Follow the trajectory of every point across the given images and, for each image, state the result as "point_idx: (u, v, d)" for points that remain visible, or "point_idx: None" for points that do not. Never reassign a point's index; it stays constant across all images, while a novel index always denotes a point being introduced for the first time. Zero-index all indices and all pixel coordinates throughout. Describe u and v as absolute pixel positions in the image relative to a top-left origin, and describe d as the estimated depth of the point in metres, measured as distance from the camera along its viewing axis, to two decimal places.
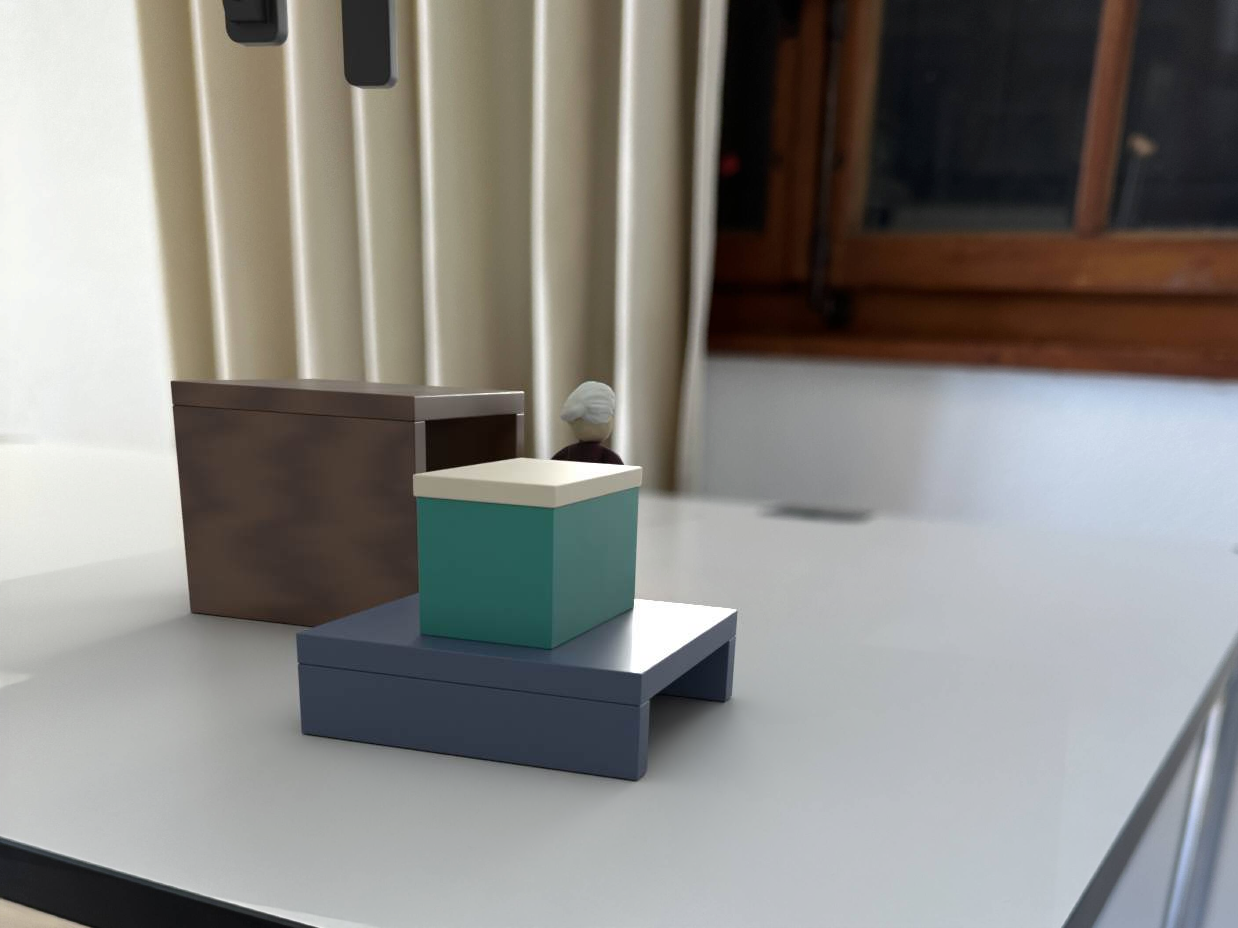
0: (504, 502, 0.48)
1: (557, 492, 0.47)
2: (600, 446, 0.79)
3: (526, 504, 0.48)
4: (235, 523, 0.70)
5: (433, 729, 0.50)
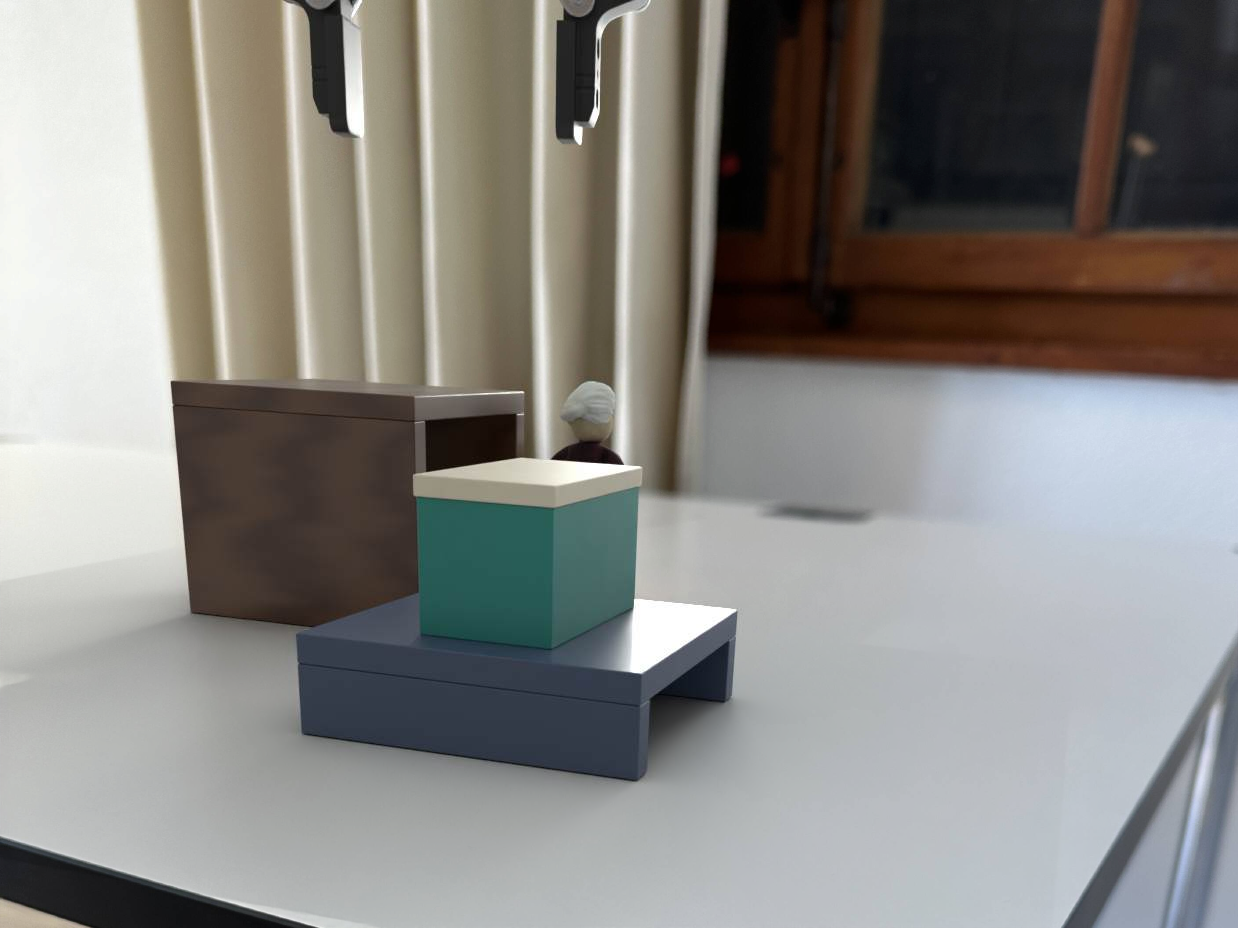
0: (504, 502, 0.48)
1: (557, 492, 0.47)
2: (600, 446, 0.79)
3: (526, 504, 0.48)
4: (235, 523, 0.70)
5: (433, 729, 0.50)
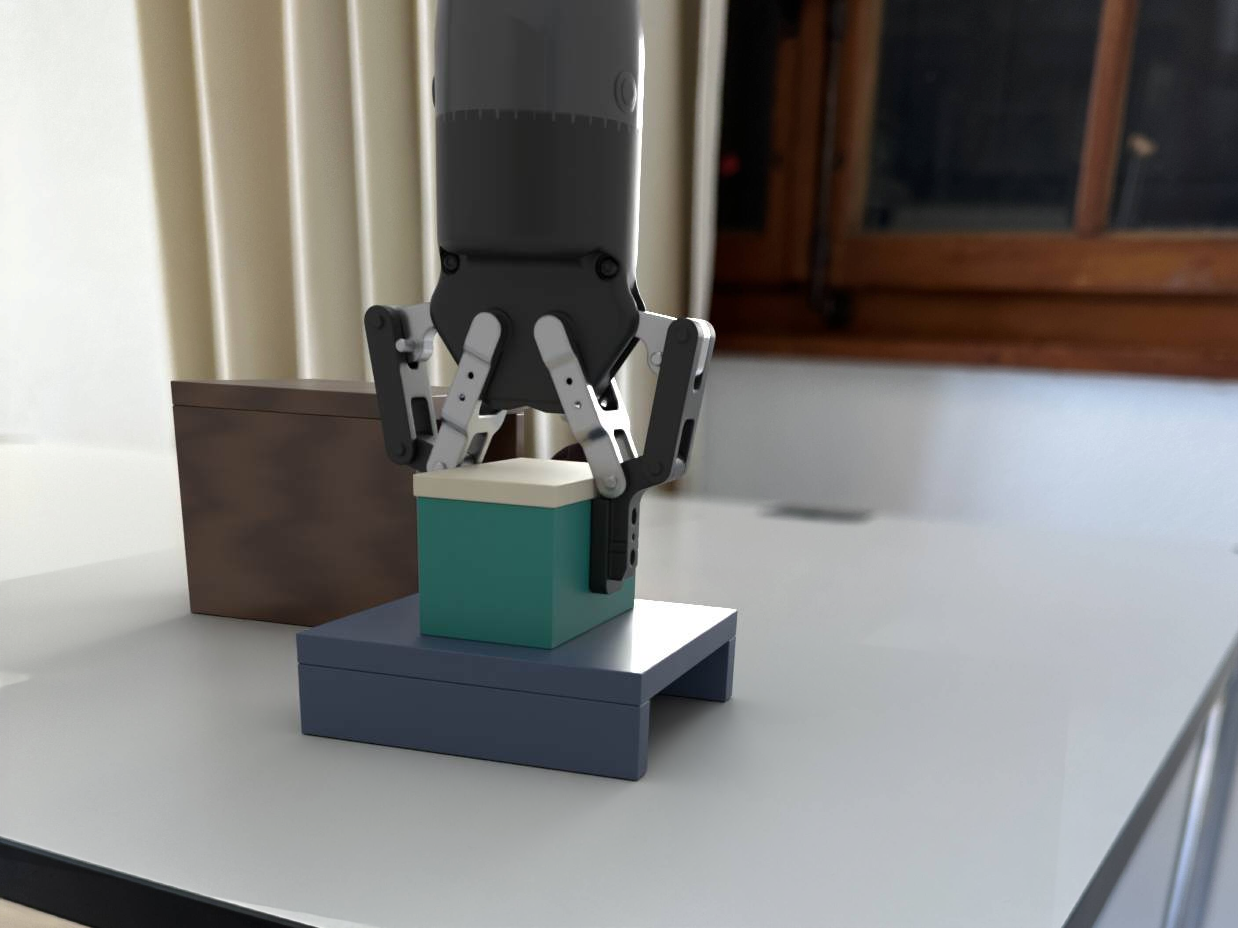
0: (504, 502, 0.48)
1: (558, 492, 0.47)
2: None
3: (526, 504, 0.48)
4: (235, 523, 0.70)
5: (433, 729, 0.50)
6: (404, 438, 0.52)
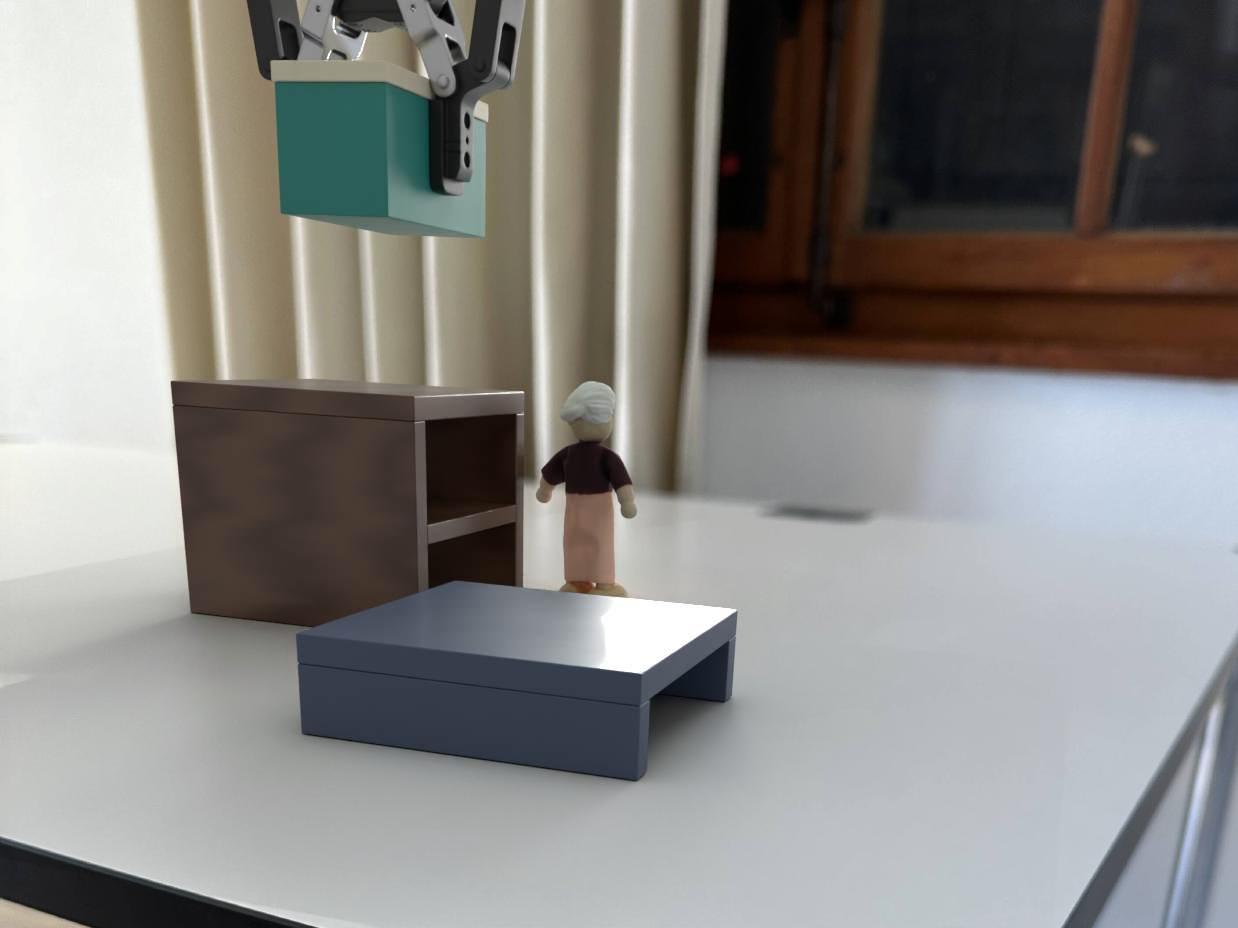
0: (345, 80, 0.56)
1: (389, 68, 0.56)
2: (600, 446, 0.79)
3: (363, 80, 0.56)
4: (235, 523, 0.70)
5: (433, 729, 0.50)
6: (273, 54, 0.61)
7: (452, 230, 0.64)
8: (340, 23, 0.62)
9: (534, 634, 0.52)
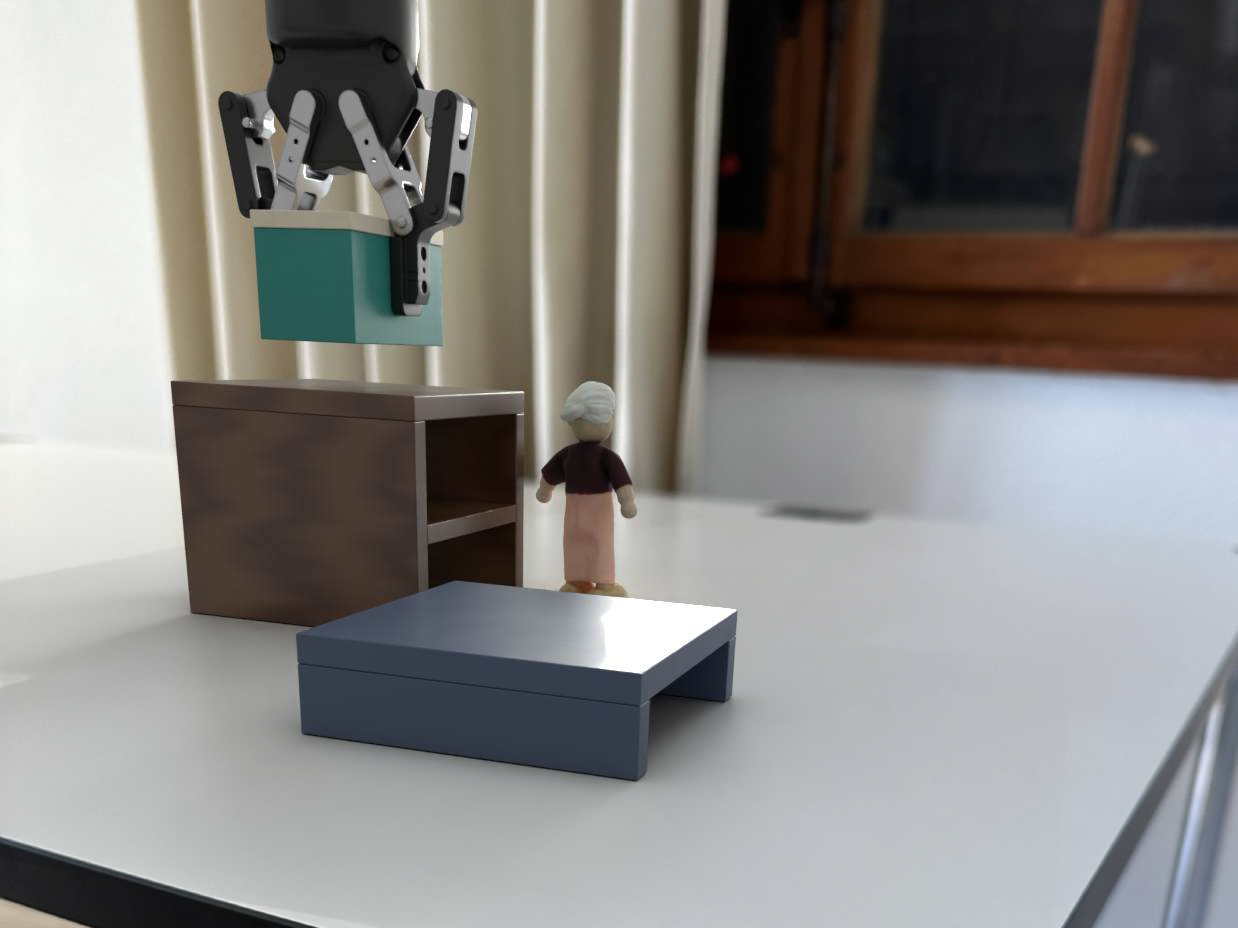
0: (315, 227, 0.65)
1: (353, 217, 0.64)
2: (600, 446, 0.79)
3: (331, 227, 0.65)
4: (235, 523, 0.70)
5: (433, 729, 0.50)
6: (251, 196, 0.69)
7: (413, 344, 0.72)
8: (310, 166, 0.70)
9: (534, 634, 0.52)
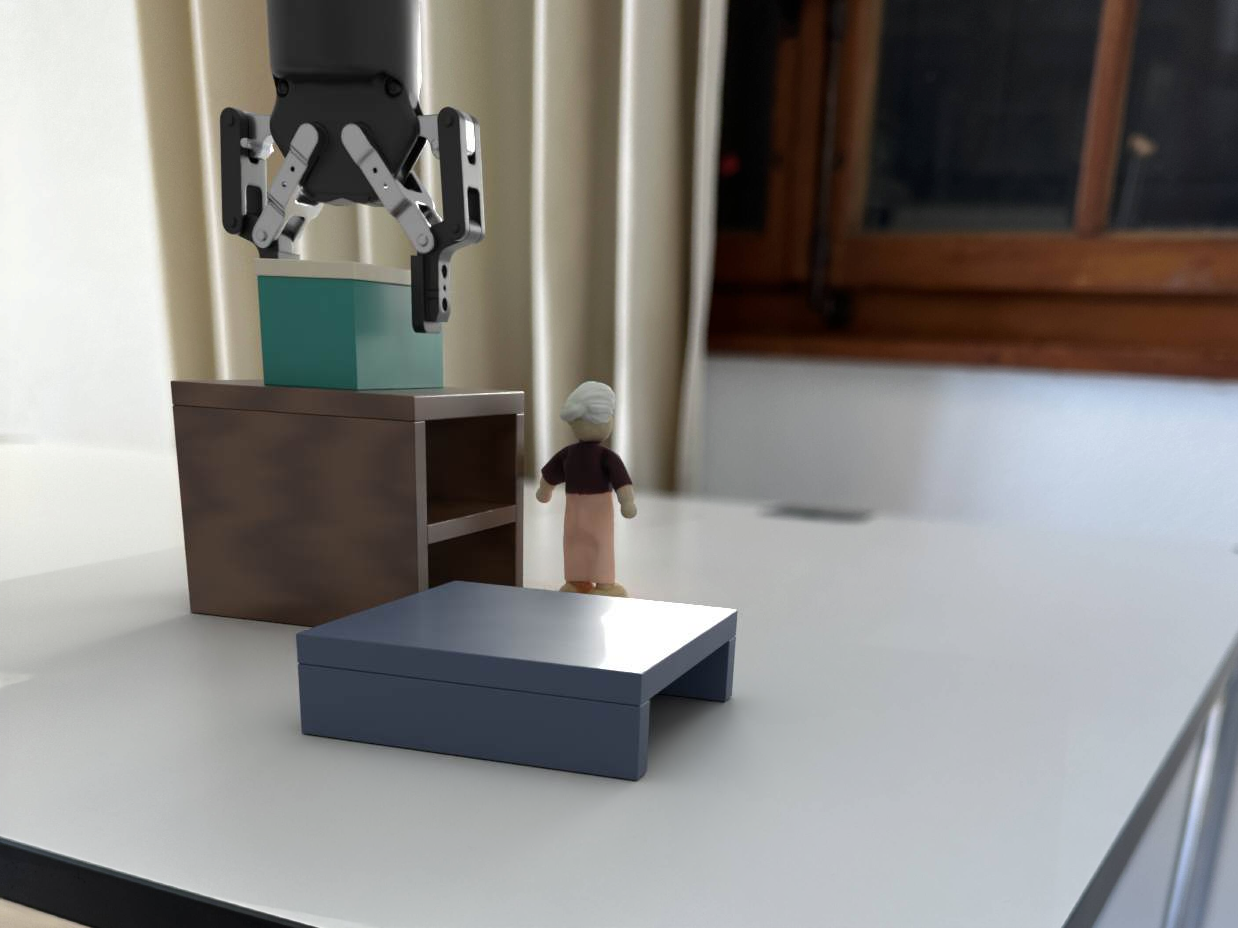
0: (318, 276, 0.66)
1: (356, 267, 0.65)
2: (600, 446, 0.79)
3: (334, 277, 0.65)
4: (235, 523, 0.70)
5: (433, 729, 0.50)
6: (236, 214, 0.70)
7: (414, 387, 0.73)
8: None
9: (534, 634, 0.52)
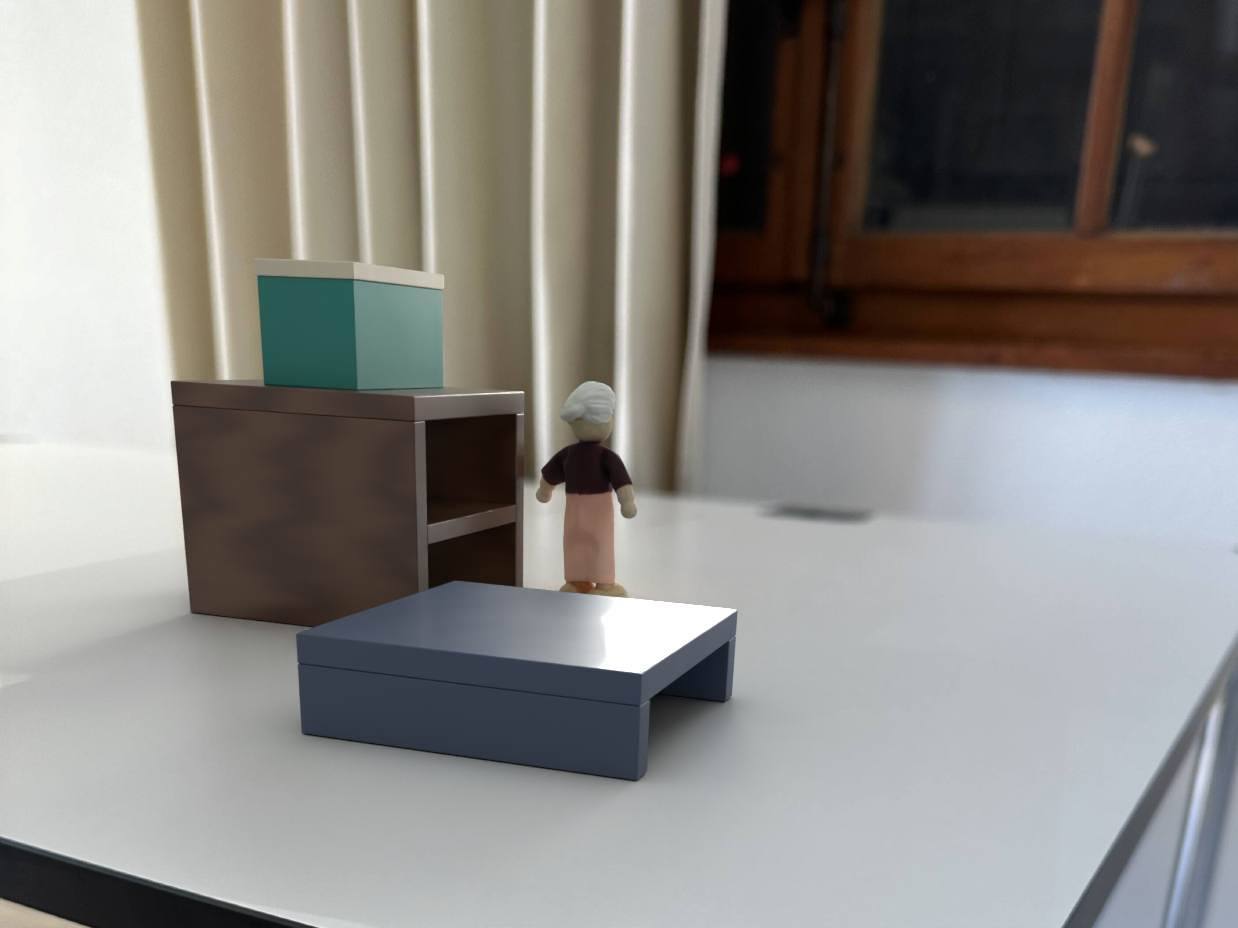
0: (318, 276, 0.66)
1: (356, 267, 0.65)
2: (600, 446, 0.79)
3: (334, 277, 0.65)
4: (235, 523, 0.70)
5: (433, 729, 0.50)
6: None
7: (414, 387, 0.73)
8: None
9: (534, 634, 0.52)
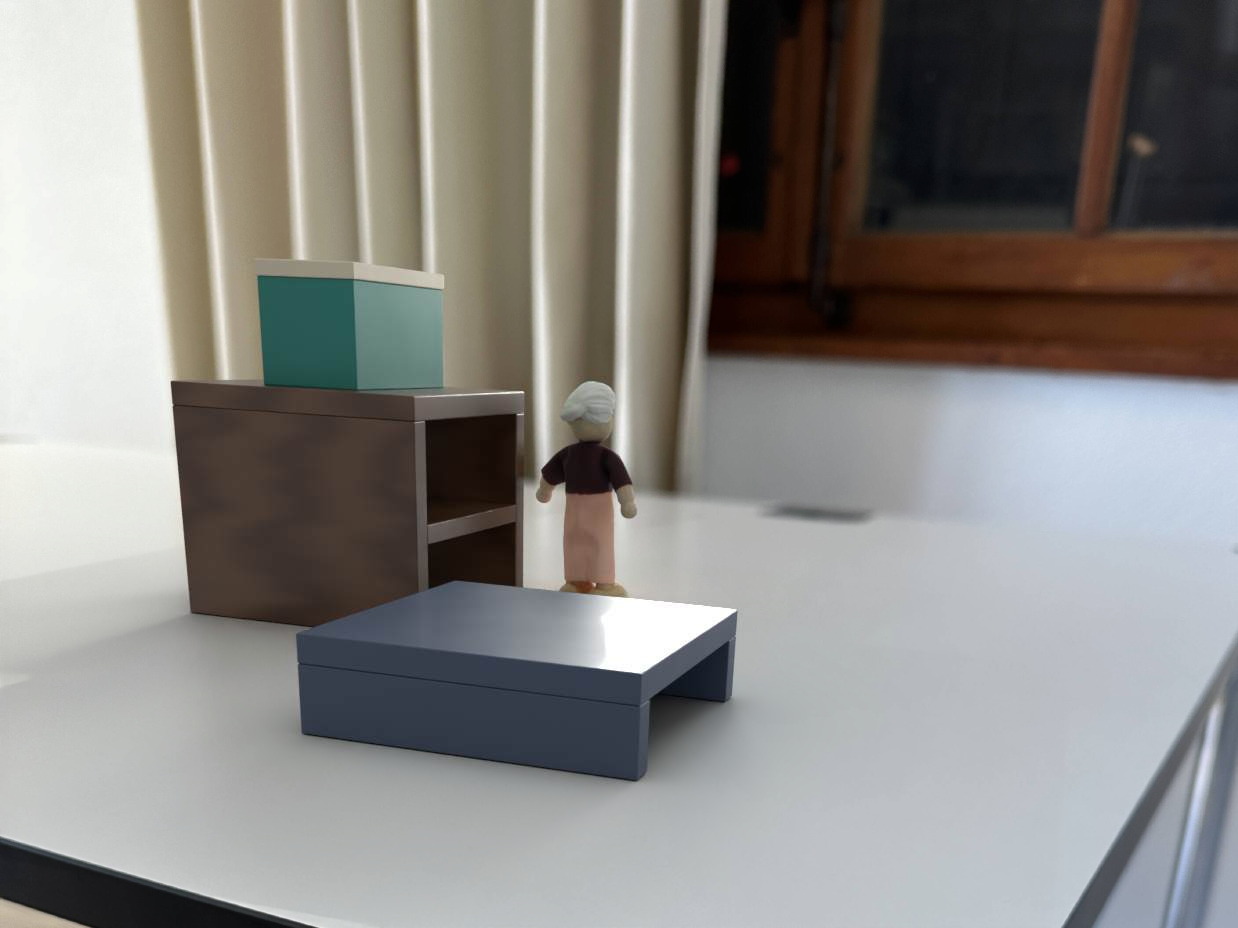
0: (318, 276, 0.66)
1: (356, 267, 0.65)
2: (600, 446, 0.79)
3: (334, 277, 0.65)
4: (235, 523, 0.70)
5: (433, 729, 0.50)
6: None
7: (414, 387, 0.73)
8: None
9: (534, 634, 0.52)
